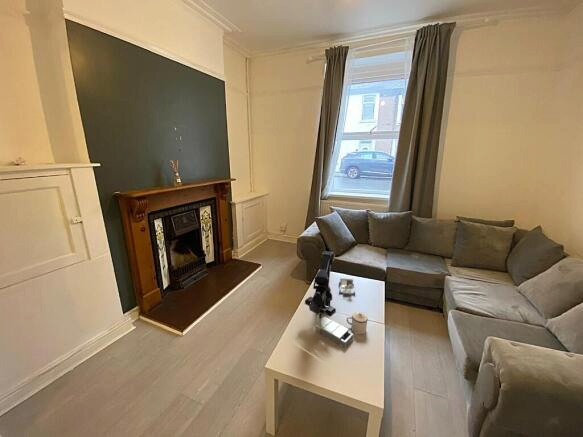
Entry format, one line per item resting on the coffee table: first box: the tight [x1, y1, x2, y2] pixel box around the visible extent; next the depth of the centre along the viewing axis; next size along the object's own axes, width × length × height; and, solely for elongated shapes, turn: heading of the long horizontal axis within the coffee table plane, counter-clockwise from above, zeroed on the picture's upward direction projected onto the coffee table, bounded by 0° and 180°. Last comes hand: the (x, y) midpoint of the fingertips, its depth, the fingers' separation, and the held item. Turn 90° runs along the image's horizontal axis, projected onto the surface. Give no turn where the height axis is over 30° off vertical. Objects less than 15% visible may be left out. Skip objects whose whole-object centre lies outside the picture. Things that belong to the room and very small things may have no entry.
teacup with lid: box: [346, 311, 369, 335], centre depth 147 cm, size 12×9×12 cm
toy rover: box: [338, 277, 356, 297], centre depth 190 cm, size 18×10×12 cm
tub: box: [320, 328, 355, 349], centre depth 141 cm, size 16×9×4 cm, turn 48°
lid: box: [314, 312, 349, 339], centre depth 143 cm, size 18×10×5 cm, turn 48°
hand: (319, 318), depth 148 cm, fingers closed on lid
